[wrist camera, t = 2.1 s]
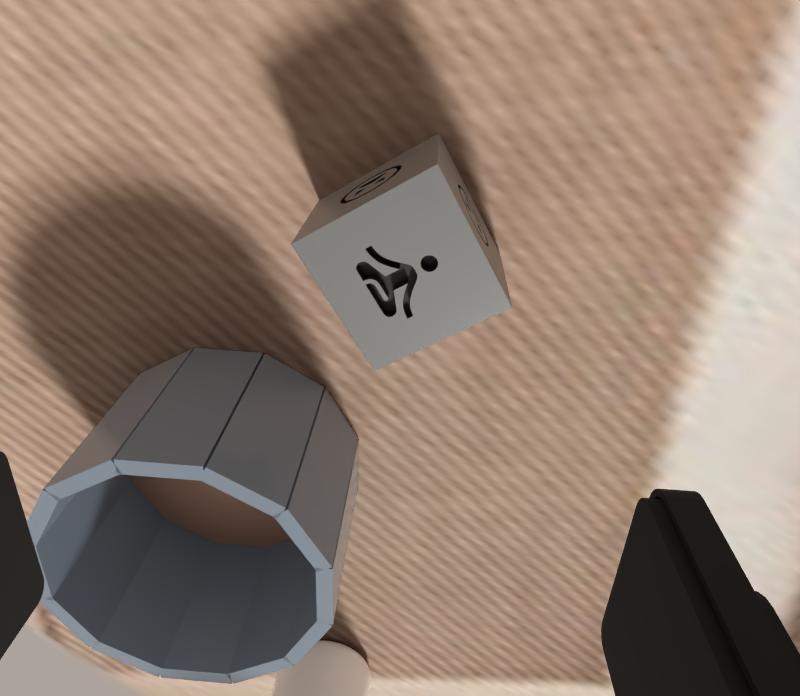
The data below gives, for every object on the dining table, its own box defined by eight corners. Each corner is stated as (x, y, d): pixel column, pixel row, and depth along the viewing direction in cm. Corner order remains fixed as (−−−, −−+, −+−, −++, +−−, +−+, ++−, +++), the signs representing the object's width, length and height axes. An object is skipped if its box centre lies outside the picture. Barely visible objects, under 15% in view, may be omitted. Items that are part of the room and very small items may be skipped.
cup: (99, 340, 27) (-14, 449, 20) (360, 359, 26) (332, 476, 20) (139, 533, 32) (60, 668, 26) (356, 551, 32) (333, 693, 25)
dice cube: (319, 199, 23) (290, 244, 19) (438, 132, 22) (437, 163, 18) (386, 307, 25) (374, 370, 21) (499, 252, 24) (512, 307, 19)
